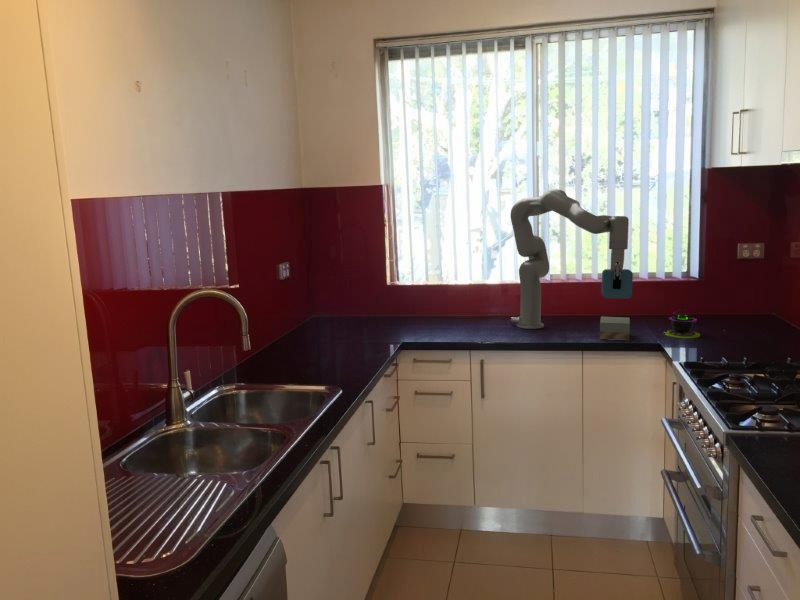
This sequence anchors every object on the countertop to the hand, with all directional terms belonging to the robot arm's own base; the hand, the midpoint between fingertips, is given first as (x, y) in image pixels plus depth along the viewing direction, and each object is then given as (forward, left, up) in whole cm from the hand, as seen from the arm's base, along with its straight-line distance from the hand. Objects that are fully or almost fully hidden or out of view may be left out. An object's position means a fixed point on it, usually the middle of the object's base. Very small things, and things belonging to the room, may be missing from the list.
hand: (616, 287), depth 284 cm
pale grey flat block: (0, 0, -18) cm, 18 cm away
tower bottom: (0, 0, -22) cm, 22 cm away
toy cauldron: (+28, +12, -22) cm, 38 cm away
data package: (0, 0, -5) cm, 5 cm away
